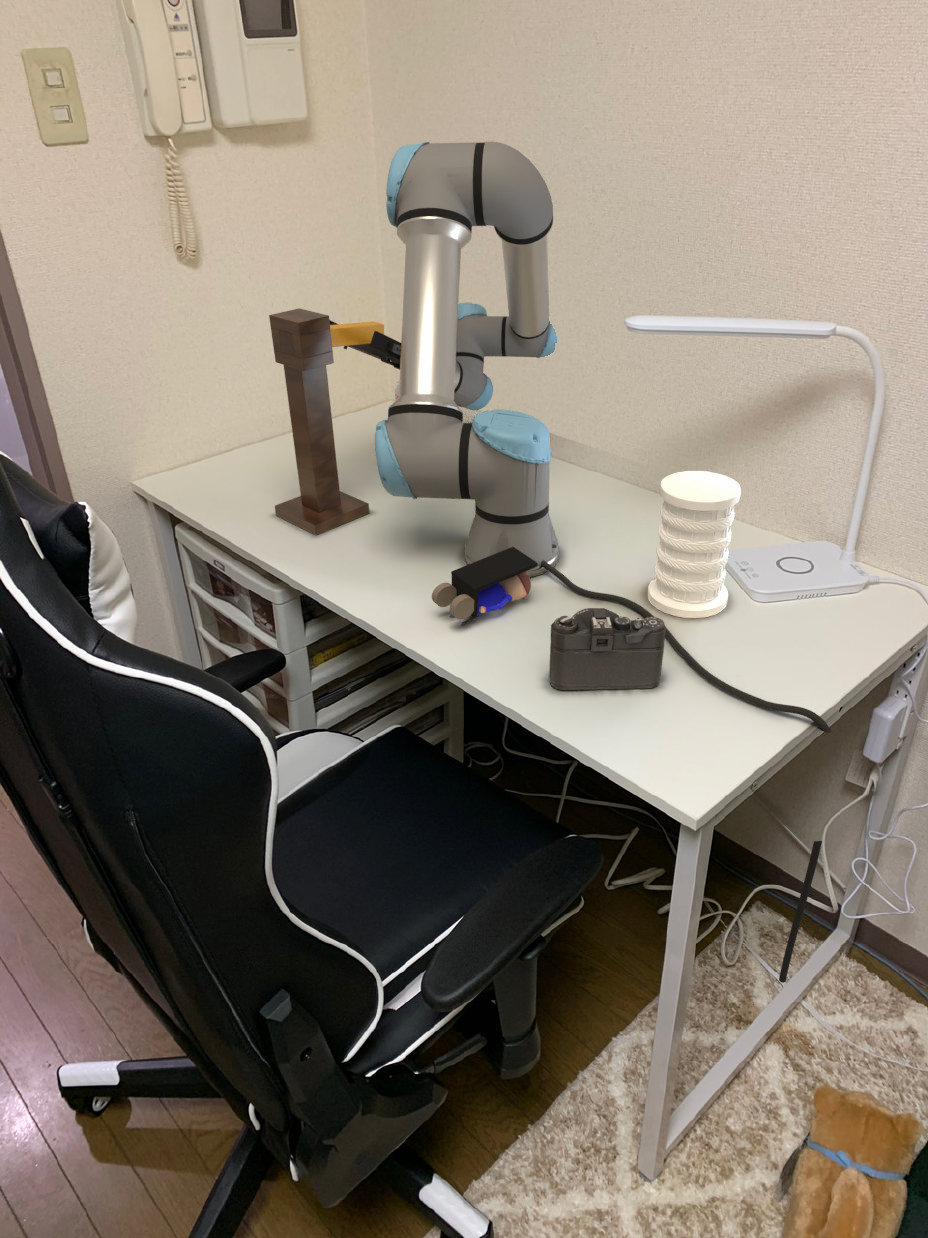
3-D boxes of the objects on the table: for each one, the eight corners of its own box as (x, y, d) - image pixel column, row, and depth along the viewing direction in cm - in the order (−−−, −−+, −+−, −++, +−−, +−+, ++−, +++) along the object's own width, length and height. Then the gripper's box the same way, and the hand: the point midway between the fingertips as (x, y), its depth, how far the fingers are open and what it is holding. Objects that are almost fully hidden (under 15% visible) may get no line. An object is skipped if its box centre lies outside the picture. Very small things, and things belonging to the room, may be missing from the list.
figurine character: (460, 644, 127) (542, 600, 134) (454, 600, 123) (538, 557, 129) (434, 624, 132) (514, 583, 138) (427, 581, 128) (510, 541, 134)
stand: (316, 535, 155) (289, 328, 136) (275, 515, 162) (246, 316, 144) (369, 513, 162) (351, 313, 144) (328, 495, 169) (306, 302, 151)
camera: (646, 644, 124) (652, 581, 118) (663, 691, 114) (671, 625, 109) (542, 648, 123) (544, 585, 118) (551, 696, 114) (554, 629, 109)
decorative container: (736, 617, 129) (753, 502, 119) (655, 619, 129) (666, 504, 120) (716, 578, 139) (731, 468, 129) (641, 579, 139) (651, 470, 129)
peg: (298, 350, 144) (297, 331, 143) (287, 347, 146) (286, 328, 145) (384, 341, 156) (384, 324, 155) (372, 339, 158) (373, 321, 156)
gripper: (470, 404, 161) (388, 367, 145) (380, 377, 176) (297, 341, 160) (484, 363, 160) (403, 321, 143) (393, 340, 175) (310, 300, 159)
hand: (347, 332), depth 152 cm, fingers open, 13 cm apart
